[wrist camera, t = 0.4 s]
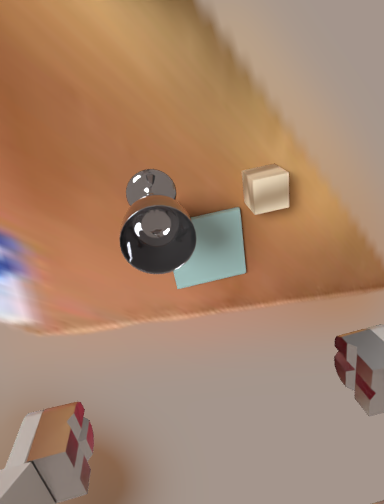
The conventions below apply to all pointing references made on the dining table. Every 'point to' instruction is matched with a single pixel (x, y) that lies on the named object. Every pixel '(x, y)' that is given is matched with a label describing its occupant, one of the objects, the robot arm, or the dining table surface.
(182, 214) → the wine glass
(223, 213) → the pad
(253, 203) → the cube
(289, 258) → the dining table surface
